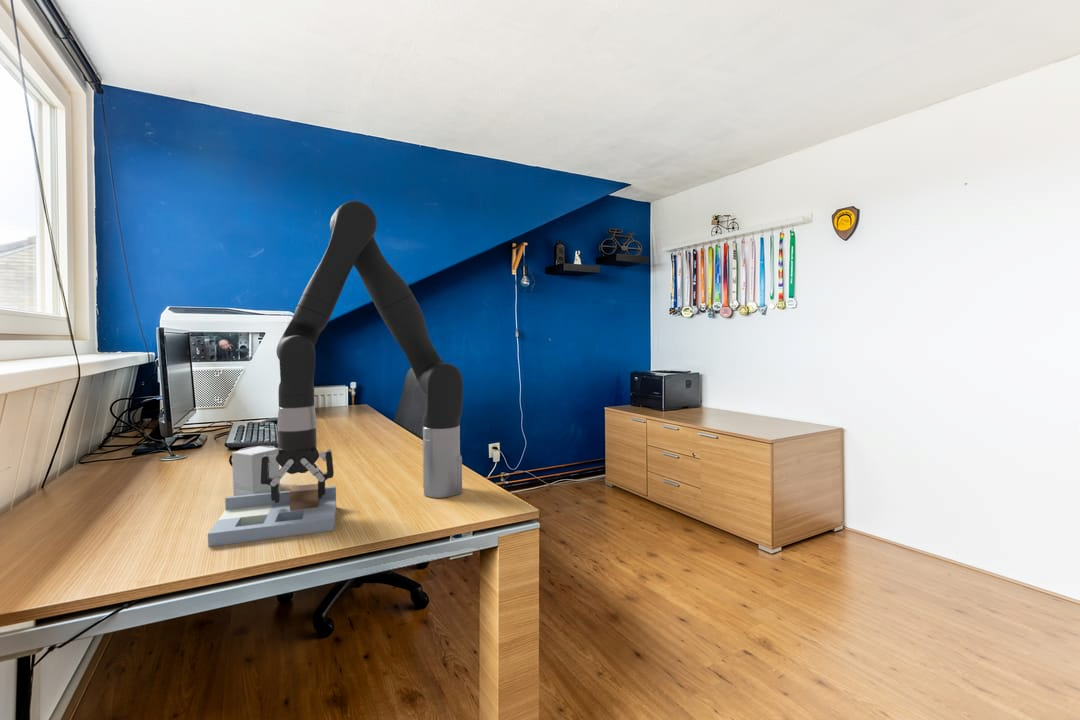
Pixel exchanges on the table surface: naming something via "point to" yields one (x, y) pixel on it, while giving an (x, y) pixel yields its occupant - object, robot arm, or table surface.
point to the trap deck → (271, 518)
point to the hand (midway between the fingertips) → (298, 499)
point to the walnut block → (304, 497)
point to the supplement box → (252, 471)
